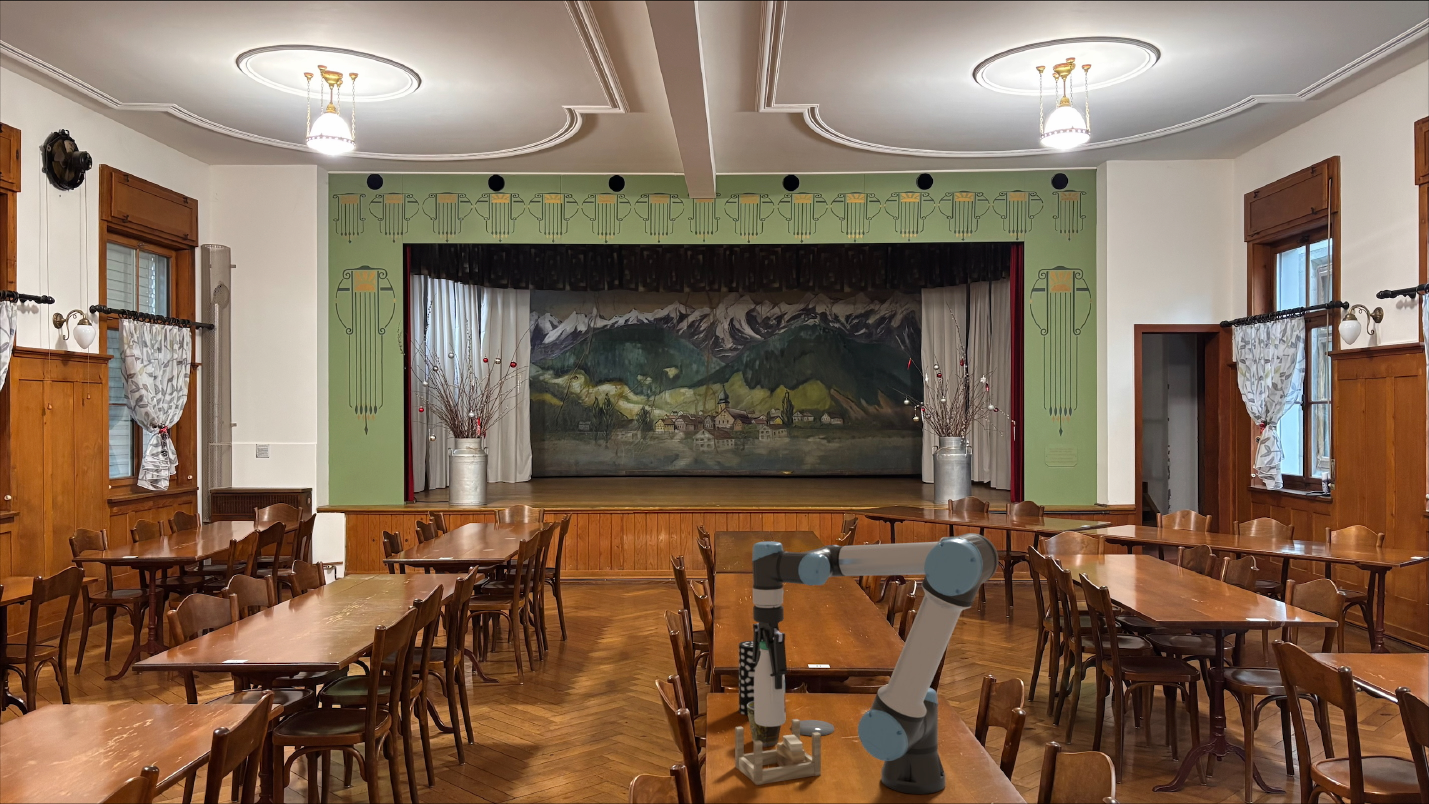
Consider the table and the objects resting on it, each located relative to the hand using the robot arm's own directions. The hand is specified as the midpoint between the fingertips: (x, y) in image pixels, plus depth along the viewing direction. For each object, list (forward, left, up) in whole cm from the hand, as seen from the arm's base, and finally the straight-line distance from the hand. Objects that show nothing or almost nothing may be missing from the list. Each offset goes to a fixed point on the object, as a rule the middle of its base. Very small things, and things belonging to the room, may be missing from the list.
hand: (769, 697), depth 237 cm
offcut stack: (0, -6, -19) cm, 20 cm away
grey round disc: (+25, -25, -19) cm, 40 cm away
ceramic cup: (+19, -7, -19) cm, 28 cm away
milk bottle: (0, 0, -6) cm, 6 cm away
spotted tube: (+46, -16, -19) cm, 53 cm away
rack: (0, -2, -19) cm, 19 cm away
